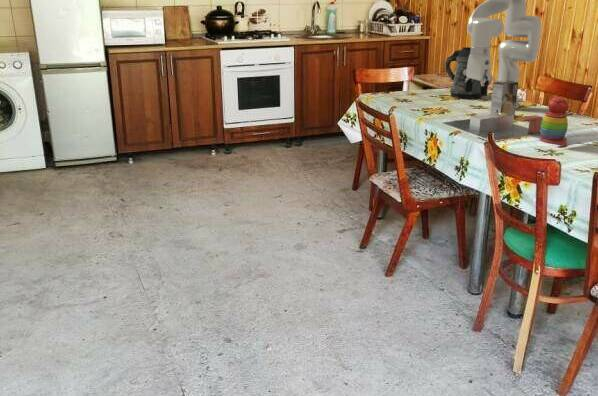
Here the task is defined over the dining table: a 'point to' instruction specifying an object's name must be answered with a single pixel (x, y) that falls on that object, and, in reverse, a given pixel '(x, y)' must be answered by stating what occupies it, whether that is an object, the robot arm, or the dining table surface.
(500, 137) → the base plate
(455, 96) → the beer stein
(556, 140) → the stacking bear
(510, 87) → the coffee box
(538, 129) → the keeper
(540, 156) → the dining table surface
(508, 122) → the link
